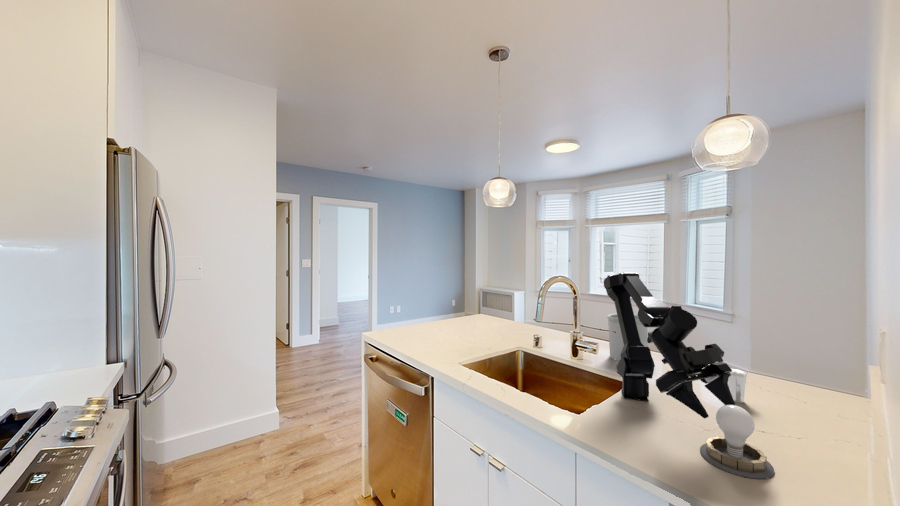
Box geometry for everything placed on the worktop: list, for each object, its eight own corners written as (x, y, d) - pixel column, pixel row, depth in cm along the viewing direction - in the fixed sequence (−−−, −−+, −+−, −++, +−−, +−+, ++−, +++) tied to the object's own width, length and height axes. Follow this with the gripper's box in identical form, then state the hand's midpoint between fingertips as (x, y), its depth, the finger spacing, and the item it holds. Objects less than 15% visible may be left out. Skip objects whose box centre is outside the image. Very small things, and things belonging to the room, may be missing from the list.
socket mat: (711, 471, 69) (711, 469, 69) (692, 440, 80) (692, 438, 80) (787, 484, 65) (787, 482, 65) (756, 450, 76) (756, 448, 76)
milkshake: (745, 406, 97) (745, 371, 97) (723, 399, 102) (723, 365, 102) (753, 403, 100) (753, 368, 99) (731, 396, 104) (731, 363, 104)
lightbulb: (748, 453, 74) (748, 402, 74) (760, 470, 69) (759, 415, 69) (712, 446, 77) (712, 397, 77) (720, 462, 71) (720, 409, 71)
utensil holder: (614, 363, 135) (613, 319, 135) (603, 352, 150) (603, 312, 150) (654, 365, 133) (654, 320, 133) (639, 353, 148) (639, 313, 147)
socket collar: (716, 467, 70) (716, 457, 70) (700, 442, 79) (700, 433, 79) (776, 477, 66) (776, 467, 66) (752, 450, 75) (752, 441, 75)
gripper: (667, 336, 77) (720, 406, 67) (723, 328, 83) (779, 391, 73) (637, 360, 84) (681, 426, 74) (690, 351, 91) (737, 412, 80)
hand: (721, 413), depth 75 cm, fingers open, 9 cm apart
